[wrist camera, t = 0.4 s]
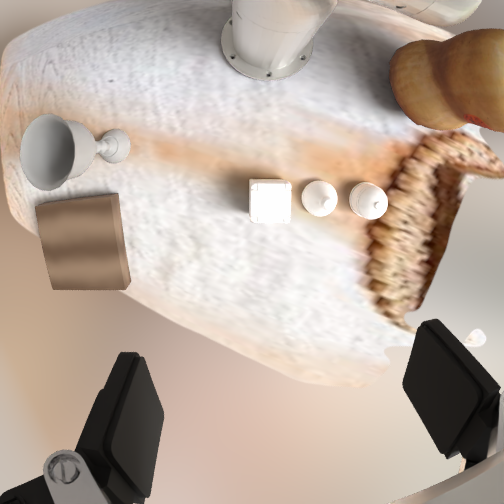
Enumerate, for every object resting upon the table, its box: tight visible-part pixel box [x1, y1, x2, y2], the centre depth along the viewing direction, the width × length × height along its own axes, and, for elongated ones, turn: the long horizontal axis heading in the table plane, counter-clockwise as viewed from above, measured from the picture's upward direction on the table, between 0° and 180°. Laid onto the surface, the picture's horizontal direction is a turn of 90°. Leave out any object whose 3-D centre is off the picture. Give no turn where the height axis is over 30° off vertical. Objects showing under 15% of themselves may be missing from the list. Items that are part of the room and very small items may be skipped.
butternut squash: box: [389, 29, 504, 133], centre depth 26 cm, size 14×13×25 cm
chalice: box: [20, 114, 131, 191], centre depth 30 cm, size 7×7×18 cm
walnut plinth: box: [35, 194, 131, 290], centre depth 41 cm, size 14×14×3 cm
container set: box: [249, 179, 387, 223], centre depth 40 cm, size 20×5×6 cm, turn 89°
